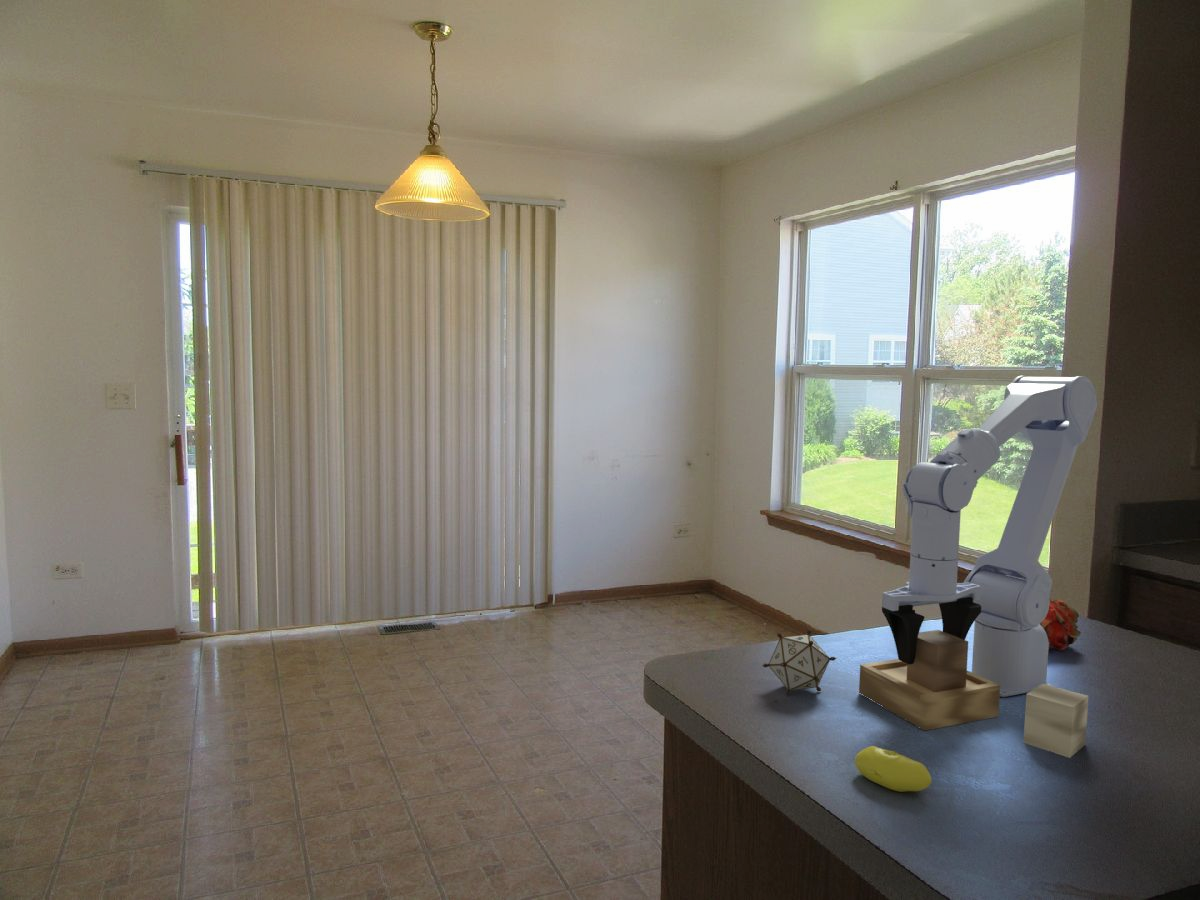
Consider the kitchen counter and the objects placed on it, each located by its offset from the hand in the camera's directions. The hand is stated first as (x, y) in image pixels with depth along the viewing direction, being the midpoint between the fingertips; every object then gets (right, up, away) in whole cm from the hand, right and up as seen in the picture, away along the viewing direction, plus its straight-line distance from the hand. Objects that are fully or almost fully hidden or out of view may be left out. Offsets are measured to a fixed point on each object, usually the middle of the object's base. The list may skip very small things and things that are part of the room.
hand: (929, 658), depth 105 cm
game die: (-16, -6, +5) cm, 18 cm away
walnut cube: (0, -3, -1) cm, 3 cm away
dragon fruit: (+28, -5, +24) cm, 37 cm away
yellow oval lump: (-12, -9, -20) cm, 25 cm away
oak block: (0, -6, +1) cm, 6 cm away
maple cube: (+11, -8, -10) cm, 17 cm away
